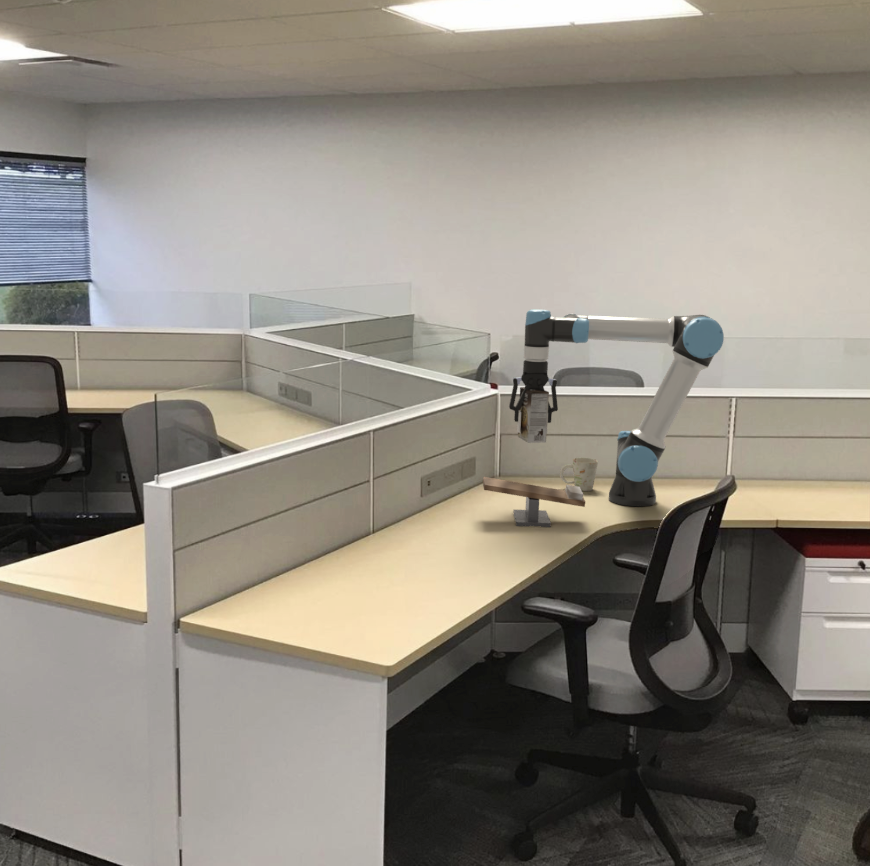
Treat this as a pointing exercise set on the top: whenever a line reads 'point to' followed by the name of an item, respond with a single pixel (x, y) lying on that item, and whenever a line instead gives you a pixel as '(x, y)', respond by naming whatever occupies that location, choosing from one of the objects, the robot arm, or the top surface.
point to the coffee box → (534, 416)
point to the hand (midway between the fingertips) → (532, 432)
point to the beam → (536, 491)
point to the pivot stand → (531, 515)
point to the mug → (582, 473)
